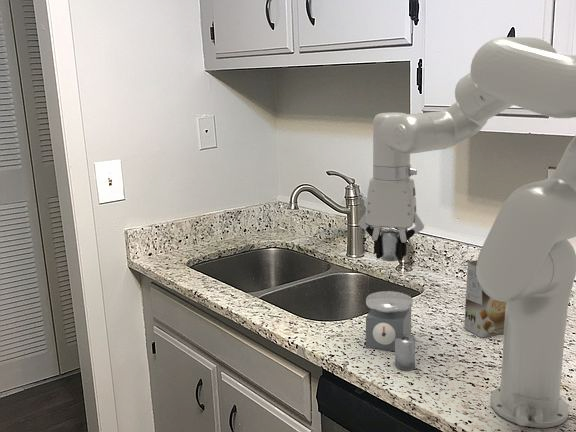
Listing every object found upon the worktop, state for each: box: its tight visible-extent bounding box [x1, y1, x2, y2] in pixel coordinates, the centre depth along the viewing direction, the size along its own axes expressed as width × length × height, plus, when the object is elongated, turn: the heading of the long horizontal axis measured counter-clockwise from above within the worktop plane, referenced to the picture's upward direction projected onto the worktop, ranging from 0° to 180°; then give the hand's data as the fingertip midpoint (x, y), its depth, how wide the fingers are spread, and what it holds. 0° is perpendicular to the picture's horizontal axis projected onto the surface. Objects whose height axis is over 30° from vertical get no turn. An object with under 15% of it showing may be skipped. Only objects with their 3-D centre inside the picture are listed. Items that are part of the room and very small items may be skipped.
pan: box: [365, 290, 414, 313], centre depth 131 cm, size 10×10×2 cm
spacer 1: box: [380, 228, 400, 262], centre depth 128 cm, size 4×4×6 cm
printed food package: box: [463, 259, 507, 339], centre depth 135 cm, size 9×6×16 cm
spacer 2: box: [394, 334, 416, 372], centre depth 120 cm, size 4×4×6 cm
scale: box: [365, 307, 412, 352], centre depth 131 cm, size 11×8×7 cm
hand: (390, 257), depth 128 cm, fingers closed on spacer 1, 4 cm apart
